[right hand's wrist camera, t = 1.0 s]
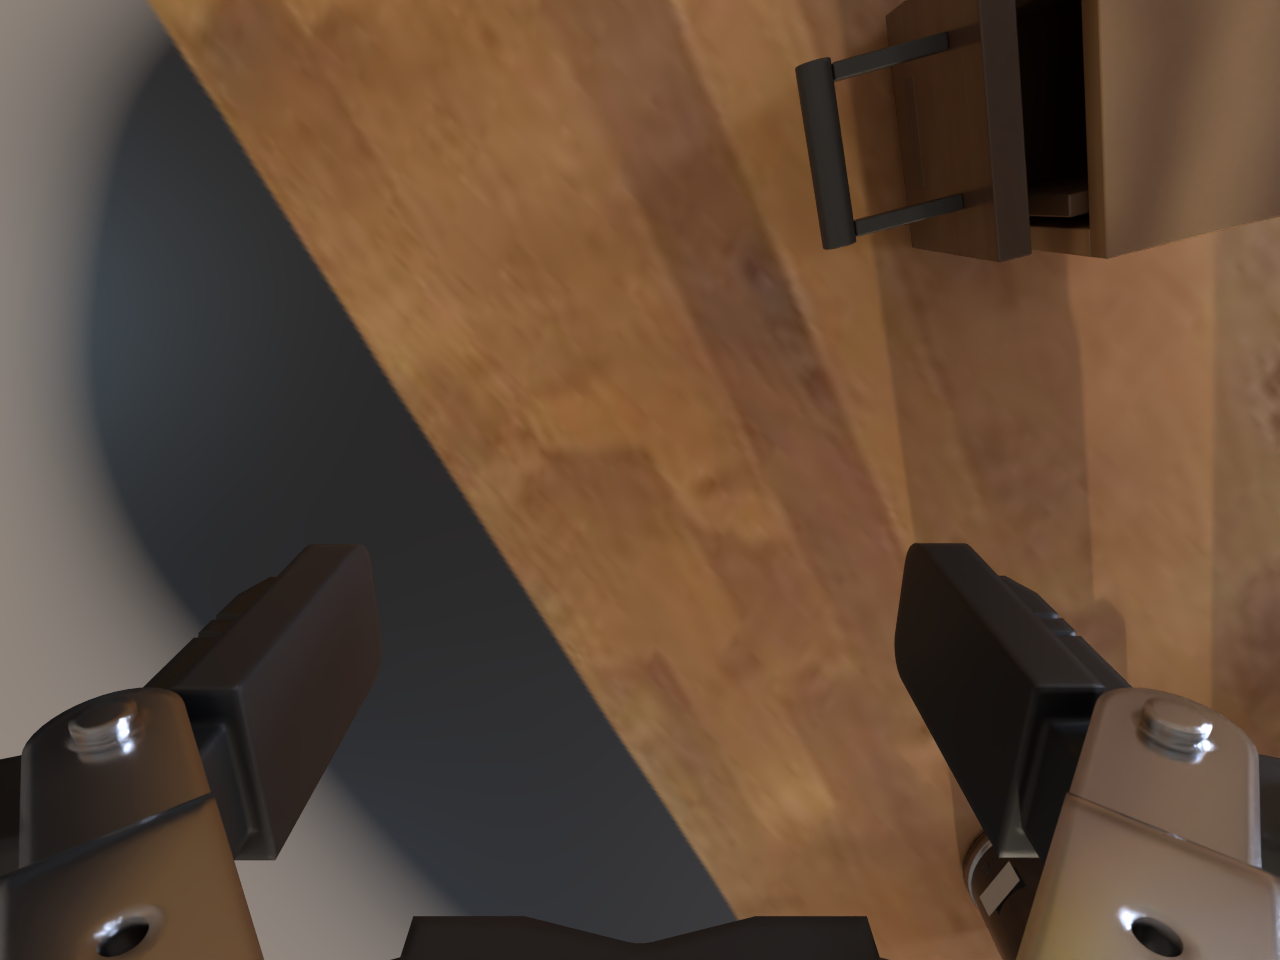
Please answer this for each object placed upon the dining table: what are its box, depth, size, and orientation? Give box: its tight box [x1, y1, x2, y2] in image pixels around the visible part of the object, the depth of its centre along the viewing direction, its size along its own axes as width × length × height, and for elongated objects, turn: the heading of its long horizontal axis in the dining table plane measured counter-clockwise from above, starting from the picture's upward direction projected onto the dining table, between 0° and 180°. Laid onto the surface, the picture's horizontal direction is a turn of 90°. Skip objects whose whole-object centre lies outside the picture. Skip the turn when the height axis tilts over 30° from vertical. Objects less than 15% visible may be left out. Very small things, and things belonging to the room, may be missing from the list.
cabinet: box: [1029, 0, 1280, 259], centre depth 29 cm, size 13×11×11 cm
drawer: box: [795, 0, 1089, 262], centre depth 29 cm, size 17×10×9 cm, turn 104°
